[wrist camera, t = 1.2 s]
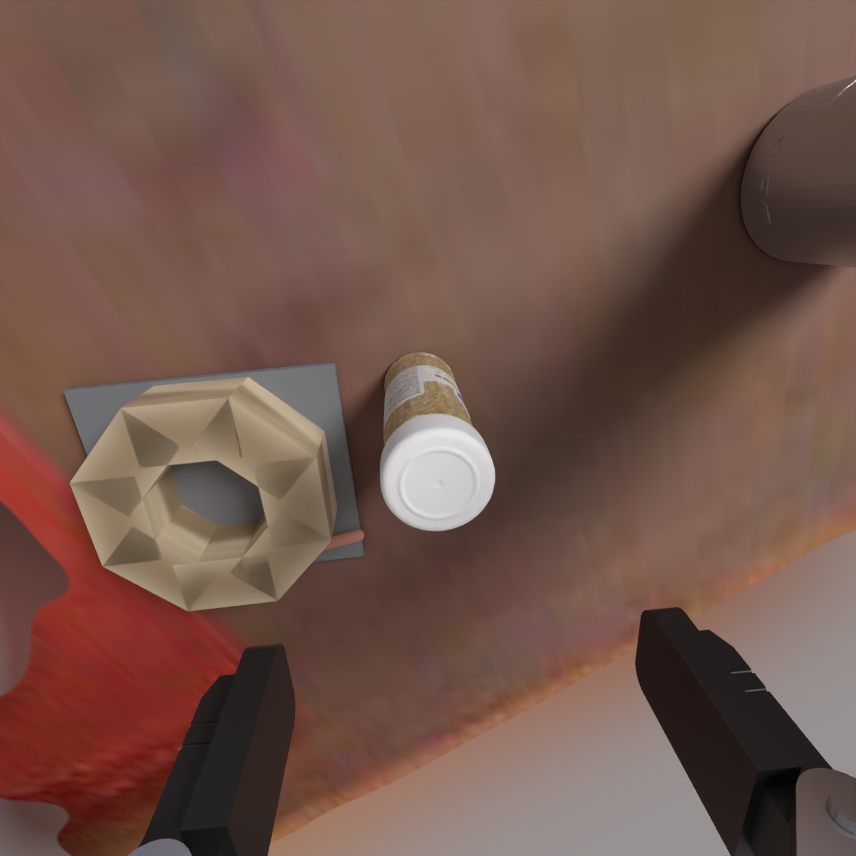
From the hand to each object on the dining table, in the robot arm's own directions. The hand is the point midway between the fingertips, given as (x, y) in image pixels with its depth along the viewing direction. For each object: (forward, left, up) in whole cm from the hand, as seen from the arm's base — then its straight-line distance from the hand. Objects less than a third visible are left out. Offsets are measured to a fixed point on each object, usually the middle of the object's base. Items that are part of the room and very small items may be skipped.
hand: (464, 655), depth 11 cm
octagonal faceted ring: (+13, +5, -21) cm, 25 cm away
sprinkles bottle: (0, 0, -22) cm, 22 cm away
